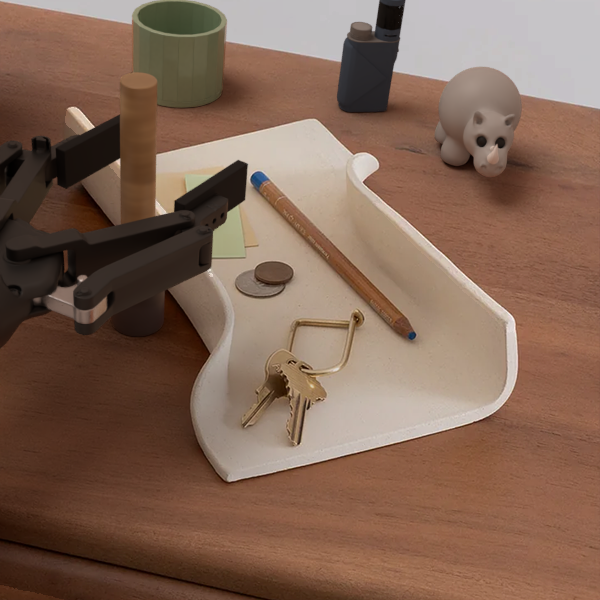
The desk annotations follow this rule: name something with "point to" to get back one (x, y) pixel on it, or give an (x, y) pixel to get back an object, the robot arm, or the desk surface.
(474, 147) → the chubby cartoon animal
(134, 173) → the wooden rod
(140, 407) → the desk surface
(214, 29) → the cup
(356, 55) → the vaping device
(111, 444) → the desk surface
